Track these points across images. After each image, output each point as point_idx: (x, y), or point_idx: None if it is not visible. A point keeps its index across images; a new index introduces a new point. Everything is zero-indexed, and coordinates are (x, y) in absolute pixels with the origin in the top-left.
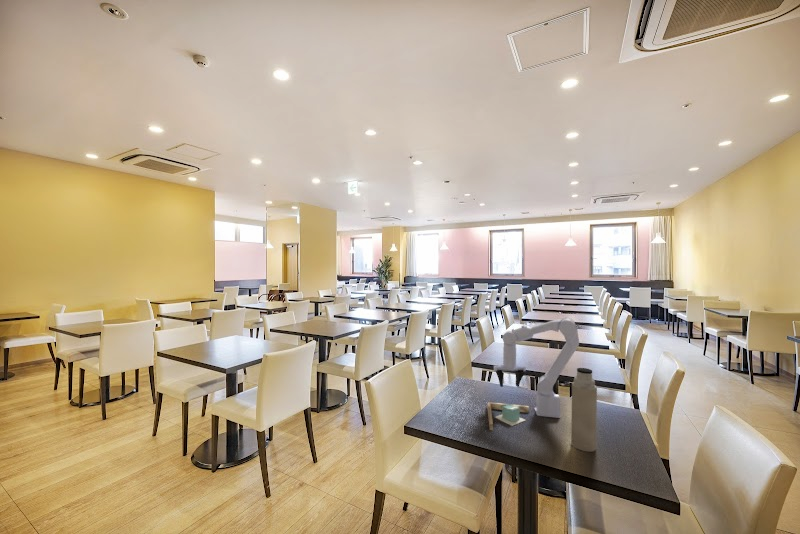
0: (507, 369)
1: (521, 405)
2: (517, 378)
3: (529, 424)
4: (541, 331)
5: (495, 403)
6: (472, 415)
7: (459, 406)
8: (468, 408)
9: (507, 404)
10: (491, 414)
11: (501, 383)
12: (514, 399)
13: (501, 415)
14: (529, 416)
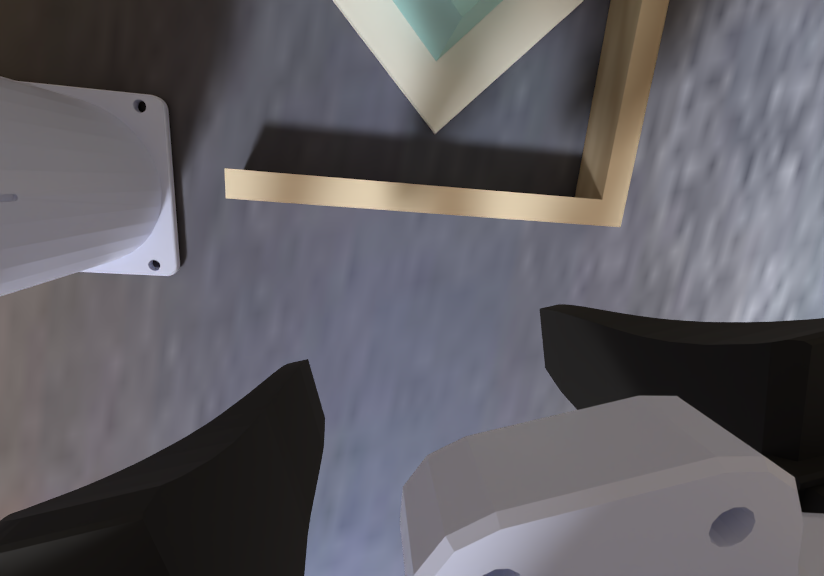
0: (811, 523)
1: (301, 199)
2: (281, 469)
3: None
4: None
5: (554, 205)
6: (756, 24)
7: (803, 201)
8: (746, 173)
9: (442, 200)
10: None
11: (595, 309)
12: (332, 432)
13: (516, 40)
14: (249, 80)
